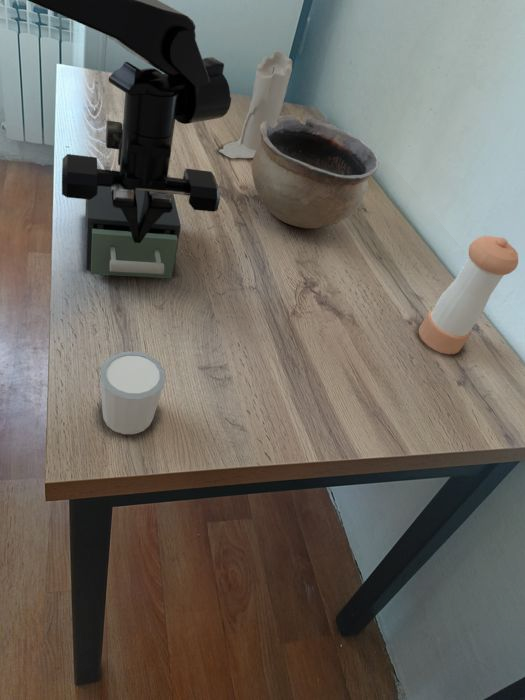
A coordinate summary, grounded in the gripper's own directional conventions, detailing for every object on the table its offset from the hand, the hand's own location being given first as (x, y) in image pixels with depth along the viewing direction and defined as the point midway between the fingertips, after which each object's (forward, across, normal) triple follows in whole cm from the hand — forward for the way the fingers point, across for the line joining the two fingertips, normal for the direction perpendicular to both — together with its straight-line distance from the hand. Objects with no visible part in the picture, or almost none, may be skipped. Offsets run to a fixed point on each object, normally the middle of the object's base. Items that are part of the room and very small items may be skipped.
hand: (136, 241), depth 72 cm
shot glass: (+8, +2, +23) cm, 25 cm away
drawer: (+7, 0, -5) cm, 9 cm away
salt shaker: (+8, -48, +10) cm, 50 cm away
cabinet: (+8, 0, -10) cm, 13 cm away
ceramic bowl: (+8, -33, -24) cm, 42 cm away
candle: (+8, -28, -50) cm, 58 cm away
